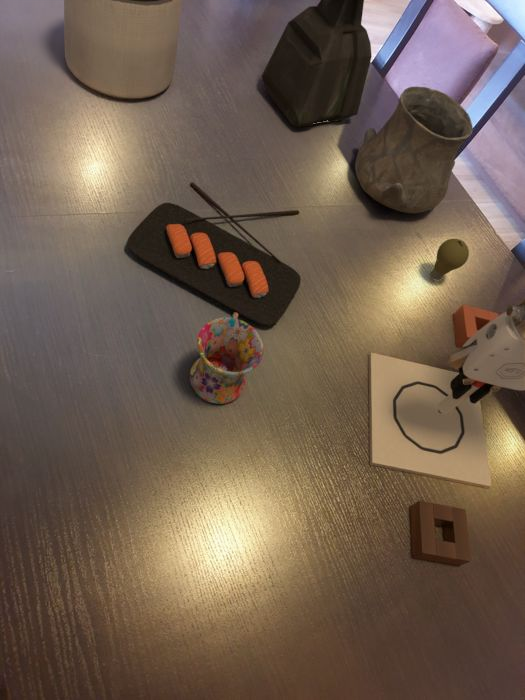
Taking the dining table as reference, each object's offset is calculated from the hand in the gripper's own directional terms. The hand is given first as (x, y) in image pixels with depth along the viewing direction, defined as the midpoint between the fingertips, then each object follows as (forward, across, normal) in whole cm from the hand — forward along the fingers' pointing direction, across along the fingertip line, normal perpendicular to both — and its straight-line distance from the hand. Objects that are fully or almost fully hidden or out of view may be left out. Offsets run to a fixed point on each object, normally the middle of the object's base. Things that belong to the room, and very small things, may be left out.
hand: (463, 392), depth 83 cm
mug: (+11, -35, 0) cm, 37 cm away
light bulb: (+11, +4, +33) cm, 35 cm away
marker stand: (+11, 0, -18) cm, 21 cm away
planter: (+11, -67, +68) cm, 96 cm away
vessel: (+11, -6, +56) cm, 57 cm away
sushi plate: (+11, -36, +28) cm, 47 cm away
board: (+11, 0, +1) cm, 11 cm away
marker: (+7, 0, 0) cm, 7 cm away
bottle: (+11, -26, +76) cm, 81 cm away
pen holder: (+11, +11, +21) cm, 26 cm away
